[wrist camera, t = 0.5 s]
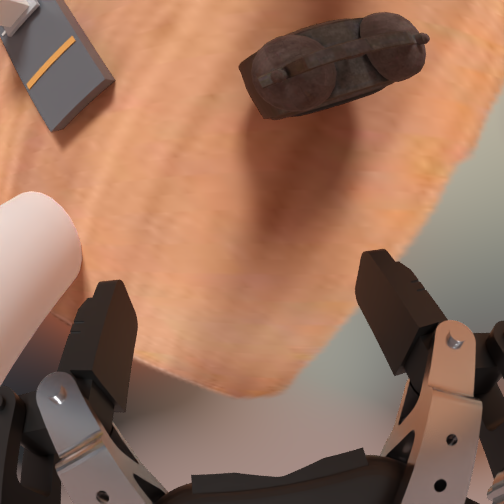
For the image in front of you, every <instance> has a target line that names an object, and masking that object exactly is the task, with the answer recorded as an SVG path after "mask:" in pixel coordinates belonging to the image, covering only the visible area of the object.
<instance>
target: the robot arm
mask: <svg viewBox="0 0 504 504" xmlns="http://www.w3.org/2000/svg"><path fill="white" fill-rule="evenodd" d="M355 294H356V299H357V302H358V305H359V306H360V308H361V310H362V312H363V314H364V316H365V318H366V320H367V322H368V324H369V326H370V328H371V329H372V331H373V333H374V335H375V337H376V339H377V341H378V343H379V345H380V347H381V349H382V351H383V353H384V355H385V358H386V360H387V362H388V364H389V366H390V368H391V370H392V372H393V374H394V376H396V375H399V374H403V373H407V375H408V377H409V378H408V380H407V382H406V385H405V390H404V393H403V397H402V400H401V404H400V408H399V411H398V414H397V418H396V421H395V424H394V427H393V430H392V432H391V434H390V436H389V438H388V439H387V441H386V443H385V445H384V447H383V449H382V452H381V454H380V456H377V455H365V453H364V450H363V448H360V449H356V450H353V451H349V452H346V453H342V454H339V455H335V456H331V457H326V458H323V459H321V460H319V461H317V462H315V463H313V464H310V465H309V466H306V467H304V468H302V469H299V470H297V471H295V472H293V473H290V474H288V475H286V476H282V477H269V476H258V475H249V474H248V475H247V474H240V473H224V474H208V475H191V478H192V483H189V484H186V485H183V486H180V487H178V488H176V489H174V490H172V491H170V492H168V491H167V490H166V489H165V488H164V487H163V486H162V484H161V483H160V482H159V481H158V480H157V479H156V478H155V477H154V476H153V475H152V474H151V473H150V472H149V471H148V470H147V469H146V468H145V466H144V465H143V464H142V463H141V462H140V460H139V459H138V457H137V456H136V455H135V453H134V452H133V450H132V449H131V448H130V446H129V445H128V443H127V442H126V440H125V439H124V438H123V436H122V435H121V433H120V432H119V430H118V428H117V427H116V425H115V424H114V423H113V422H112V421H113V413H114V412H126V403H127V395H128V387H129V380H130V373H131V366H132V360H133V353H134V347H135V341H136V336H137V329H138V323H137V316H136V313H135V310H134V308H133V305H132V303H131V301H130V298H129V296H128V293H127V291H126V288H125V285H124V283H123V282H122V281H121V280H112V281H102V282H99V283H98V285H97V287H96V290H95V293H94V295H93V298H87V300H86V301H85V302H84V303H83V304H82V306H81V307H80V308H79V309H78V312H77V314H76V317H75V320H74V324H73V325H72V328H71V331H70V332H71V334H69V336H68V339H67V342H66V345H65V348H64V351H63V354H62V358H61V361H60V364H59V367H58V370H57V372H55V373H51V374H50V375H48V376H47V377H45V378H44V379H43V380H42V382H41V383H40V384H39V386H38V389H37V391H34V392H30V393H26V394H22V395H17V394H16V393H15V392H14V391H13V390H12V389H10V388H9V387H7V386H0V504H61V482H62V484H63V486H64V488H65V489H66V491H67V493H68V495H69V497H70V498H71V500H72V502H73V504H479V503H477V502H475V501H473V500H471V499H469V498H467V497H466V496H467V492H468V489H469V484H470V481H471V476H472V472H473V467H474V462H475V458H476V452H477V445H478V440H479V438H480V441H481V443H482V446H483V449H484V451H485V454H486V457H487V460H488V463H489V465H490V468H491V471H492V474H493V477H494V481H493V485H492V486H491V487H490V488H489V489H488V492H487V498H488V499H489V500H491V501H493V503H492V504H504V397H503V395H502V393H501V391H500V389H499V387H498V385H497V382H498V381H499V380H500V378H501V377H502V376H503V378H504V321H500V322H498V323H496V325H495V326H494V328H493V329H492V331H491V333H472V331H471V330H470V329H469V328H468V327H467V326H465V325H464V324H463V323H461V322H458V321H454V320H448V319H447V318H446V317H445V315H444V314H443V312H442V311H441V309H440V308H439V307H438V305H437V304H436V303H435V301H434V300H433V298H432V297H431V296H430V294H429V293H428V292H427V290H425V288H424V287H423V285H422V284H421V282H419V281H418V279H417V277H416V276H415V275H414V273H413V272H412V271H411V270H410V269H409V268H407V267H406V266H405V265H403V264H402V263H400V262H399V261H398V262H395V261H394V259H393V258H392V257H391V256H390V254H389V253H388V252H387V251H386V250H385V249H380V250H372V251H365V252H363V253H362V256H361V260H360V266H359V271H358V276H357V281H356V286H355ZM20 445H21V446H23V447H24V454H23V463H22V472H21V483H19V481H18V478H17V474H16V472H17V463H18V455H19V448H20Z"/></svg>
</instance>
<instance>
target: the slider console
mask: <svg viewBox="0 0 504 504" xmlns="http://www.w3.org/2000/svg"><path fill="white" fill-rule="evenodd" d="M37 1H38V3H39V4H40V6H39V7H38V8H37V9H36V10H35V11H34V12H33V13H32V14H31V15H30V16H29V17H28V18H27V19H26V20H25V22H24V23H23V24H22V25H21V26H20V27H19V28H18V30H17V31H16V32H15V33H14V34H13V36H12V37H9V36H8V35H7V33H6V31H5V29H4V27H3V26H0V37H1V39H2V41H3V44H4V46H5V48H6V50H7V52H8V54H9V56H10V58H11V61H12V63H13V65H14V67H15V69H16V71H17V73H18V74H19V76H20V78H21V80H22V82H23V84H24V86H25V88H26V90H27V92H28V93H29V95H30V97H31V99H32V101H33V102H34V104H35V106H36V108H37V109H38V111H39V113H40V115H41V116H42V118H43V120H44V121H45V123H46V125H47V127H48V128H49V130H50V132H53V131H57V130H61V129H63V128H64V127H65V126H66V125H67V124H68V123H69V122H70V121H71V120H72V119H73V118H74V117H75V116H76V115H77V114H78V113H79V112H80V111H81V110H82V109H84V108H85V107H86V106H87V105H88V104H89V103H90V102H91V101H92V100H93V99H94V98H95V97H97V96H98V95H99V94H100V93H101V92H102V91H103V90H104V89H106V88H107V87H108V86H109V85H110V84H112V83H113V82H114V81H115V79H114V77H113V76H112V74H111V73H110V71H109V70H108V68H107V67H106V65H105V64H104V62H103V61H102V59H101V58H100V56H99V55H98V53H97V52H96V50H95V48H94V47H93V45H92V44H91V42H90V41H89V39H88V38H87V36H86V35H85V33H84V31H83V30H82V28H81V27H80V25H79V24H78V22H77V21H76V19H75V17H74V16H73V14H72V13H71V11H70V10H69V8H68V6H67V5H66V3H65V2H64V0H37Z"/></svg>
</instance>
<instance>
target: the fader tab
mask: <svg viewBox="0 0 504 504" xmlns="http://www.w3.org/2000/svg"><path fill="white" fill-rule="evenodd" d="M39 6H40V4H39V3H38V1H37V0H0V26H3V27H4V29H5V31H6V33H7V35H8V36H9V37H12V36H13V34H14V33H15V32H16V31H17V30H18V28H19V27H20V26H21V25H22V24H23V23H24V22H25V20H26V19H27V18H28V17H29V16H30V15H31V14H32V13H33V12H34V11H35V10H36V9H37V8H38V7H39Z"/></svg>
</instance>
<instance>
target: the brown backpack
mask: <svg viewBox="0 0 504 504" xmlns="http://www.w3.org/2000/svg"><path fill="white" fill-rule="evenodd" d="M429 40H430V38H429V36H428V35H427V34H424V33H419V32H418V30H417V29H416V28H415V27H414V26H413V25H412V24H411V22H410V21H408V20H407V19H405V18H404V17H402V16H400V15H398V14H394V13H387V12H382V13H374V14H371V15H368V16H366V17H364V18H356V19H340V20H333V21H328V22H324V23H320V24H316V25H312V26H309V27H306V28H303V29H300V30H297V31H295V32H292V33H290V34H287V35H285V36H281V37H277V38H275V39H273V40H271V41H269V42H267V43H266V44H265V45H264V46H263V47H262V48H261V49H260V50H258V51H257V52H256V53H254V54H253V55H251V56H250V57H248V58H247V59H245V60H244V61H243V62H242V63H241V64H240V65H239V70H240V72H241V74H242V77H243V80H244V83H245V86H246V89H247V91H248V93H249V95H250V97H251V98H252V100H253V102H254V103H255V105H256V107H257V108H258V110H259V112H260V113H261V115H262V116H263V118H264V119H268V118H270V119H272V120H278V119H283V118H286V117H293V116H301V115H306V114H310V113H313V112H317V111H321V110H324V109H327V108H331V107H334V106H338V105H341V104H344V103H347V102H350V101H353V100H356V99H359V98H363V97H365V96H368V95H371V94H374V93H376V92H378V91H380V90H382V89H383V88H385V87H386V86H388V85H390V84H393V83H394V82H399V81H403V80H406V79H408V78H410V77H412V76H414V75H415V74H417V73H419V72H420V71H421V69H422V67H423V65H424V63H425V57H426V51H425V45H424V44H426V43H428V41H429Z"/></svg>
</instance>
